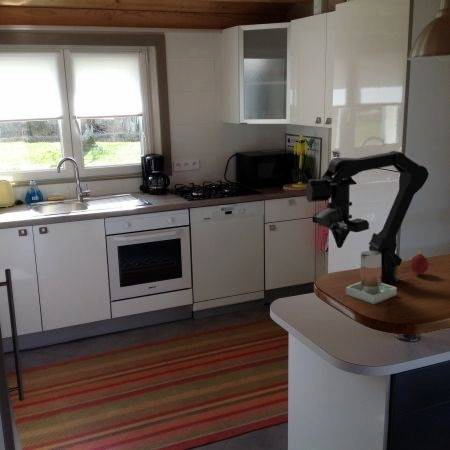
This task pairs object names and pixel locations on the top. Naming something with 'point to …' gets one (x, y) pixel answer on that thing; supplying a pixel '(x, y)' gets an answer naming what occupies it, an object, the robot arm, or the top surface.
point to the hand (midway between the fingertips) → (339, 247)
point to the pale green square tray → (356, 292)
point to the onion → (419, 264)
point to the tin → (371, 272)
